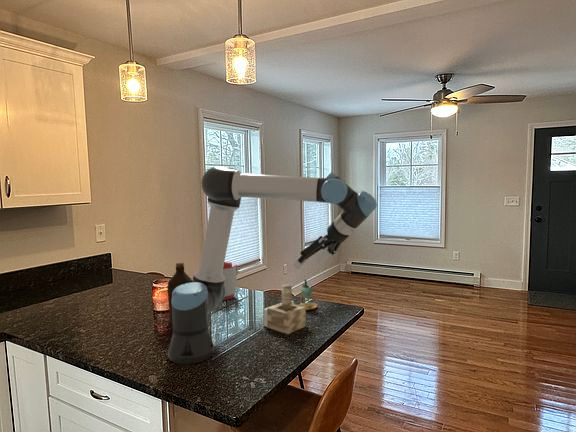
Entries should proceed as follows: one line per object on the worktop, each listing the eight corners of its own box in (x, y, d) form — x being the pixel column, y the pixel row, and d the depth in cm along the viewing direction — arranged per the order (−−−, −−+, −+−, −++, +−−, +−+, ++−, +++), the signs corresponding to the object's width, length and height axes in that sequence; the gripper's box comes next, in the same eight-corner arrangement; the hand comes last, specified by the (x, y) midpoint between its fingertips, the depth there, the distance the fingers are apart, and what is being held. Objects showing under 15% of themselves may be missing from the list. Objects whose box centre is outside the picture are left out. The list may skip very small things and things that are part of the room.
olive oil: (190, 326, 158) (189, 265, 156) (165, 326, 158) (163, 266, 156) (197, 317, 169) (195, 260, 167) (173, 317, 169) (171, 260, 167)
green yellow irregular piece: (284, 311, 176) (286, 279, 176) (308, 306, 189) (310, 276, 189) (300, 315, 169) (302, 282, 170) (324, 310, 183) (326, 278, 183)
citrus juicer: (245, 298, 196) (245, 259, 195) (214, 304, 187) (213, 263, 185) (232, 291, 209) (231, 254, 208) (201, 296, 200) (200, 258, 198)
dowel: (287, 322, 153) (287, 287, 152) (279, 319, 156) (279, 286, 154) (293, 319, 156) (293, 285, 155) (286, 317, 159) (286, 283, 157)
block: (288, 334, 149) (287, 313, 148) (267, 327, 156) (267, 308, 155) (305, 326, 157) (305, 307, 156) (285, 320, 164) (285, 301, 163)
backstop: (268, 327, 156) (268, 310, 156) (264, 325, 158) (263, 308, 157) (294, 316, 168) (293, 301, 168) (289, 315, 170) (289, 300, 169)
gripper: (326, 240, 125) (291, 277, 136) (366, 233, 144) (332, 266, 155) (314, 222, 128) (280, 260, 139) (354, 218, 147) (321, 252, 158)
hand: (307, 264), depth 147 cm, fingers open, 13 cm apart
